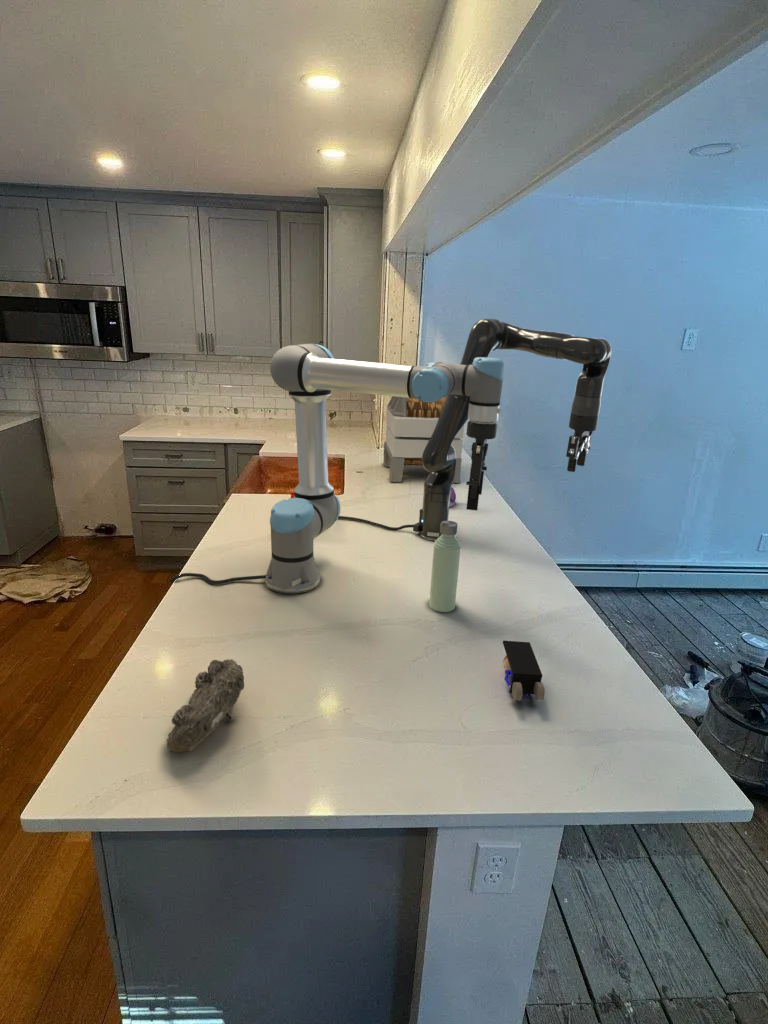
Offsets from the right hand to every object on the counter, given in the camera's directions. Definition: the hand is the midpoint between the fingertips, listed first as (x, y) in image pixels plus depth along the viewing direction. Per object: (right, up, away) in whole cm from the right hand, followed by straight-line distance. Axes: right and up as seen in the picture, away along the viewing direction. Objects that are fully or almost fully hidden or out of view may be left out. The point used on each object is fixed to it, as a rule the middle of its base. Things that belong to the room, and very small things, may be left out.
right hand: (575, 468), depth 164 cm
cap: (-39, -16, -19) cm, 46 cm away
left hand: (-32, -10, -14) cm, 36 cm away
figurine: (-30, -10, +68) cm, 75 cm away
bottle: (-40, -38, -11) cm, 56 cm away
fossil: (-88, -52, -56) cm, 117 cm away
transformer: (-38, +6, +111) cm, 118 cm away
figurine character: (-27, -50, -44) cm, 72 cm away
